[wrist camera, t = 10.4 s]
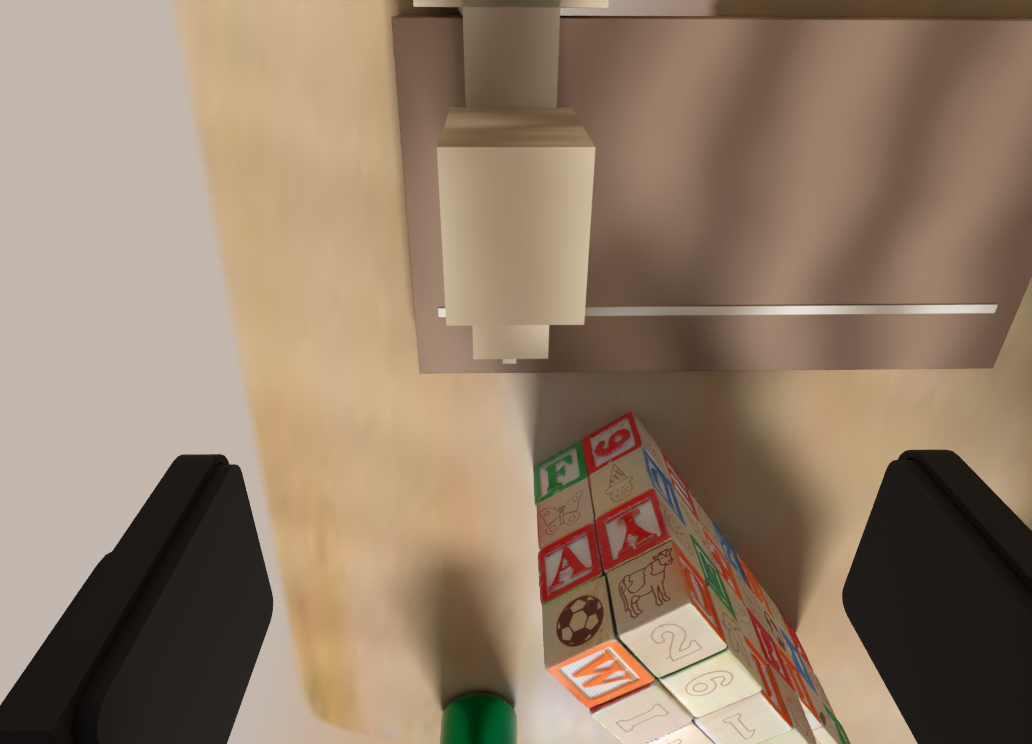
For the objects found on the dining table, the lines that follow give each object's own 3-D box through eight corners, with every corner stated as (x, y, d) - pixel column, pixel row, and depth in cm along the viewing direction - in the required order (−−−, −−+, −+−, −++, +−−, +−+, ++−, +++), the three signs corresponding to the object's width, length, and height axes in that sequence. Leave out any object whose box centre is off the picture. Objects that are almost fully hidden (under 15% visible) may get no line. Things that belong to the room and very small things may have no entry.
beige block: (597, -84, 23) (659, -122, 14) (575, 316, 30) (606, 448, 22) (420, -86, 22) (374, -125, 14) (442, 316, 30) (421, 450, 22)
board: (1095, 18, 25) (1141, 21, 23) (965, 347, 32) (993, 368, 30) (399, 14, 24) (391, 17, 23) (423, 351, 31) (419, 374, 30)
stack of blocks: (799, 632, 43) (899, 847, 32) (711, 670, 44) (779, 886, 34) (630, 407, 34) (693, 605, 23) (528, 465, 35) (542, 675, 25)
